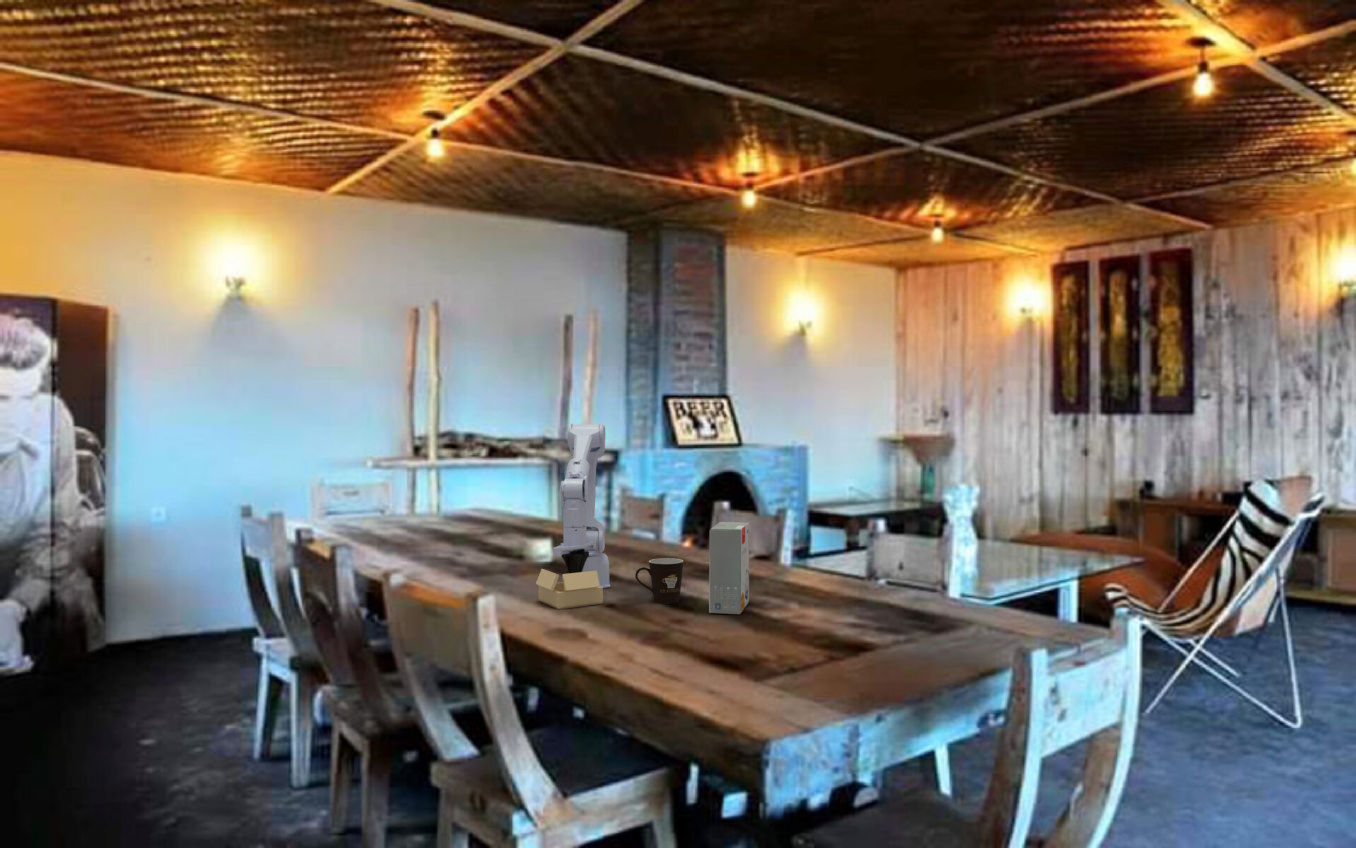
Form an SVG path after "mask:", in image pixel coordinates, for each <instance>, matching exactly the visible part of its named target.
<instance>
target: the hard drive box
mask: <svg viewBox="0 0 1356 848" xmlns="http://www.w3.org/2000/svg"><path fill="white" fill-rule="evenodd" d="M749 529H750V523H749V522H743V521H742V522H740V521H739V522H736V521H735V522H733V521H719V522H718V523H717V524H716V525H714V526H713V527H711V528H710V529H709V578H708V580H709V581H708V583H709V593H708V595H709V596H708V598H709V599H708V607H709V609H708V612H709V614H727V615H741V614H742V612H744V609H745V608H746V607H747V605H748V604H749V601H750V561H749V559H750V557H749V556H750V549H749V547H750V543H749V542H750V540H749V539H750V535H749V534H750V533H749V532H750V530H749Z"/></svg>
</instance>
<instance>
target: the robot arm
mask: <svg viewBox="0 0 1356 848" xmlns="http://www.w3.org/2000/svg"><path fill="white" fill-rule="evenodd" d="M566 437H567V438H566V439H567V440H566V441H567V444H568V448H569V452H570V454H571V456H573V457H572V459H570V460H569V461H568V464H567V467H566V474H565V475H564V480H561V482H560V487H559V488H560V489H559V490H560V499H561V508H562V509H563V511H562V516H563V519H562V520H563V521H562V522H563V523H562V524H563V525H562V527H563V530H562V531H563V542H560V545H558V546H555V547H554V546H553V548H552V553H553V556H557V557H561V558H562V560H563V561H564V563H565V565H566V568H567V570H568V574H570V573H579V572H588V571H597V575H598V579H599V584H600V587H603V589H604V588H611V587H612V586H611V584H610V561H609V557H608V556H607V554H606V553H604V551H605V546H606V544H605V543H606V536H605V526H604V523H603V522H602V521H600V520H598V519H597V518H596V517H595V516H596V515H595V511H596V510H595V508H596V485H597V484H596V481H597V480H596V478H597V464H598V460H599V459H600V458H601V457H603V456H605V451H606V427H605V425H604V424H603V423H596V424H595V423H592V424H591V423H590V424H584V423H583V424H580V423H579V424H577V423H576V424H573V423H570V424H569V425H568V427H567V435H566Z"/></svg>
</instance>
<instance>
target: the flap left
mask: <svg viewBox="0 0 1356 848" xmlns="http://www.w3.org/2000/svg"><path fill="white" fill-rule="evenodd" d="M561 578H562V582H563V584H564V589H565V591H571V590H579V589H588V588H596V587H600V584H599V579H598V575H597V571H588V572H579V573H570V574H569V573H563V574H561Z"/></svg>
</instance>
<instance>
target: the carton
mask: <svg viewBox="0 0 1356 848" xmlns="http://www.w3.org/2000/svg"><path fill="white" fill-rule="evenodd" d="M538 602H540V603H543V604H544V605H547V606H550V607H552V608H554V609H556V610H564V609H565V610H567V609H571V608H572V609H573V608H579V607H588V606H594V605H603V604H604V588H603V587H596V588H588V589H579V590H571V591H565V589H564V584H563V581H561V582H556V585H555V587H554V590H553V591H552V590H550V589H547V588H545V587H542V586H540V585H538Z"/></svg>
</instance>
